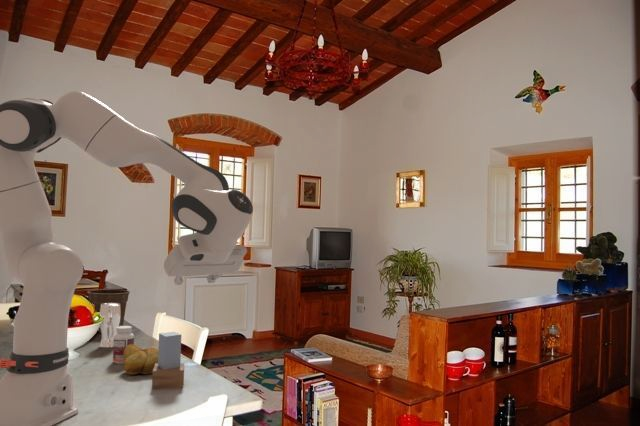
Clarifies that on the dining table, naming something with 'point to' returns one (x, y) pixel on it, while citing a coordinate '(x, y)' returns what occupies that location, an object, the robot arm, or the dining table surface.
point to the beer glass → (109, 323)
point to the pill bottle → (121, 342)
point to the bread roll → (139, 359)
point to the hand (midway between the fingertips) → (194, 282)
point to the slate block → (169, 350)
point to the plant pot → (110, 300)
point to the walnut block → (167, 377)
